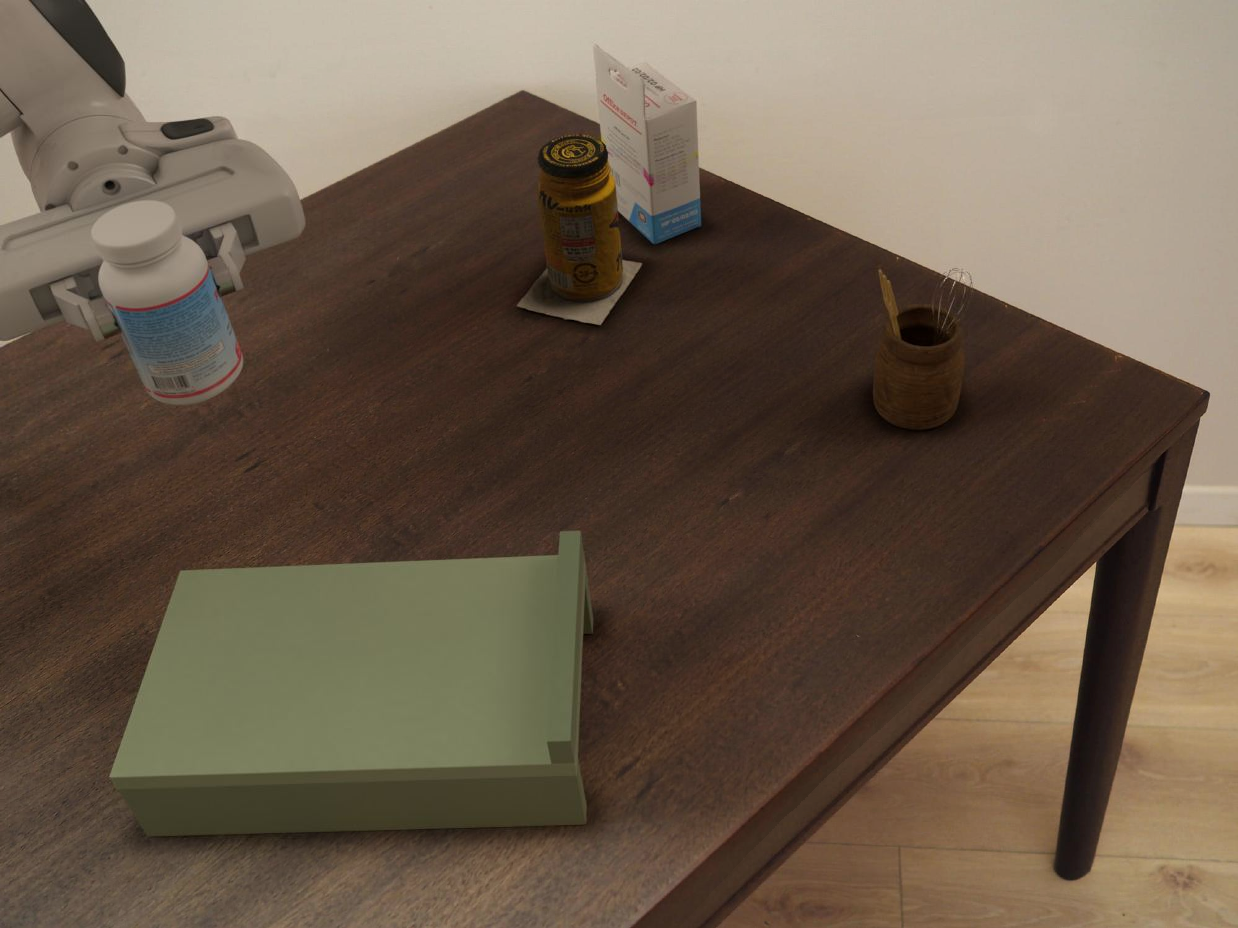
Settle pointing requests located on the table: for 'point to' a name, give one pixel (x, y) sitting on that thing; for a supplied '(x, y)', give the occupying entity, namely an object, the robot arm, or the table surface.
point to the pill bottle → (165, 304)
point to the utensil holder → (919, 362)
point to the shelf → (363, 698)
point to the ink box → (649, 147)
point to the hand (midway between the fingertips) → (168, 305)
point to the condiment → (578, 233)
